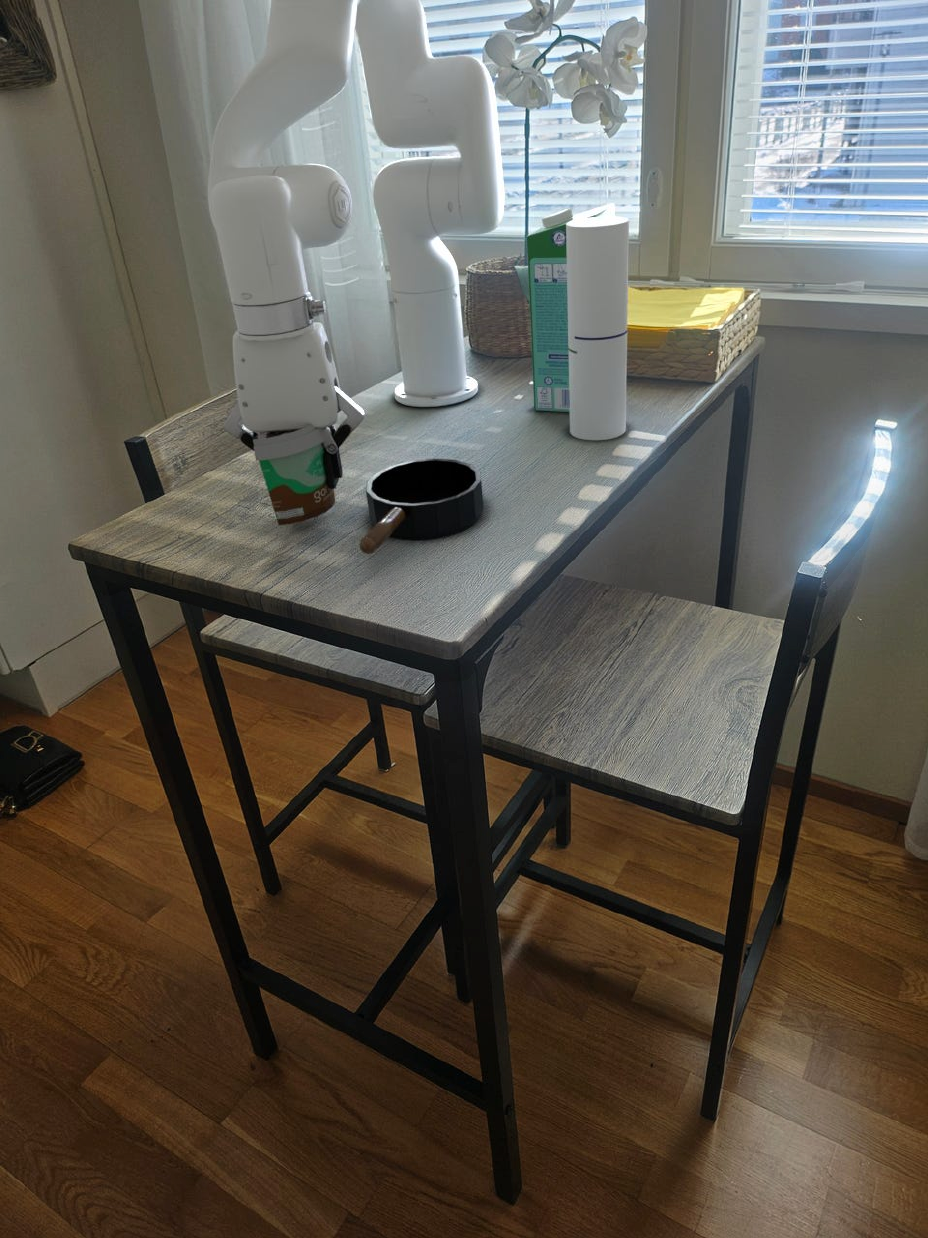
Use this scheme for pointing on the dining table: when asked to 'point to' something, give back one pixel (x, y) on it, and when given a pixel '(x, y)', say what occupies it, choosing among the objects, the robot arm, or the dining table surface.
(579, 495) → the dining table surface
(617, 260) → the cylindrical container
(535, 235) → the milk carton
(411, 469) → the pan
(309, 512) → the food container
